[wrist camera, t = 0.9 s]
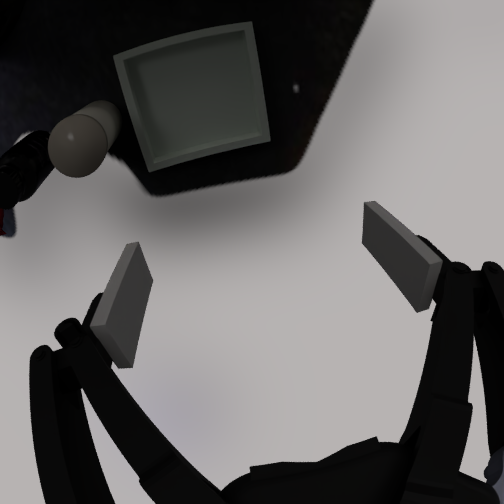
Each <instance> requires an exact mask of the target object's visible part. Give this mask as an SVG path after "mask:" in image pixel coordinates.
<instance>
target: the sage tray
mask: <svg viewBox="0 0 504 504" xmlns="http://www.w3.org/2000/svg"><path fill="white" fill-rule="evenodd" d="M113 58H114V62H115V66H116V69H117V73H118V77H119V80H120V84H121V87H122V91H123V94H124V98H125V101H126V104H127V108H128V111H129V114H130V117H131V121H132V124H133V127H134V130H135V133H136V136H137V139H138V142H139V145H140V148H141V151H142V154H143V157H144V160H145V163H146V165H147V168H148V171H149V172H152V171H155V170H159V169H162V168H165V167H168V166H172V165H175V164H179V163H182V162H186V161H189V160H193V159H197V158H200V157H204V156H208V155H212V154H216V153H220V152H224V151H228V150H232V149H236V148H241V147H245V146H250V145H255V144H259V143H264V142H269V141H271V139H270V132H269V125H268V118H267V111H266V104H265V98H264V91H263V85H262V78H261V72H260V66H259V60H258V54H257V48H256V42H255V36H254V31H253V25H252V21H251V22H243V23H236V24H229V25H223V26H217V27H212V28H207V29H202V30H197V31H193V32H188V33H184V34H180V35H176V36H172V37H169V38H165V39H161V40H158V41H155V42H151V43H148V44H145V45H142V46H139V47H136V48H133V49H130V50H128V51H125V52H122V53H119V54H117V55H114V56H113Z"/></svg>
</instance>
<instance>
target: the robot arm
mask: <svg viewBox="0 0 504 504" xmlns="http://www.w3.org/2000/svg"><path fill="white" fill-rule="evenodd" d="M24 1H25V0H0V46H1V45H2V43H3V42H4V41H5V40H6V38H7V37H8V36H9V34H10V33H11V31H12V29H13V28H14V26H15V24H16V22H17V20H18V18H19V16H20V13H21V11H22V8H23V5H24ZM363 218H364V219H363V236H362V244H363V245H364V246H365V247H366V248H367V250H368V251H369V252H370V253H371V254H372V255H373V257H374V258H375V259H376V261H377V262H378V263H379V264H380V265H381V266H382V268H383V269H384V270H385V272H386V273H387V274H388V275H389V277H390V278H391V279H392V280H393V282H394V283H395V284H396V286H397V287H398V288H399V290H400V291H401V292H402V293H403V295H404V296H405V297H406V299H407V300H408V301H409V303H410V304H411V306H412V307H413V308H414V310H415V311H416V312H417V313H418V312H421V311H423V310H427V309H429V306H430V304H431V301H432V299H433V300H434V301H435V303H436V306H435V310H434V312H433V315H432V318H431V321H433V323H432V329H431V334H430V340H429V345H428V350H427V355H426V359H425V364H424V368H423V372H422V376H421V380H420V384H419V388H418V391H417V395H416V398H415V402H414V405H413V408H412V412H411V415H410V418H409V421H408V424H407V426H406V429H405V431H404V433H403V435H402V437H401V439H400V441H399V443H393V442H378V439H377V437H373V438H370V439H367V440H365V441H362V442H359V443H355V444H352V445H349V446H346V447H345V448H343V449H341V450H339V451H338V452H336V453H334V454H332V455H330V456H328V457H326V458H324V459H322V460H320V461H318V462H278V463H272V464H265V465H259V466H251V467H250V473H248V474H245V475H243V476H241V477H239V478H237V479H235V480H234V481H232V482H231V483H229V484H228V485H227V486H226V487H225V488H224V489H223V490H222V491H220V490H219V489H218V488H217V487H216V486H215V485H213V484H212V483H211V482H210V481H208V480H207V479H206V478H205V477H204V476H203V475H202V474H201V473H200V472H199V471H197V470H196V469H195V468H194V467H193V466H192V465H191V464H190V463H189V462H188V461H187V460H186V459H185V458H184V457H183V456H182V455H181V453H180V452H179V451H178V450H177V449H176V448H175V447H174V446H173V445H172V444H171V443H170V442H169V441H168V440H167V438H166V437H165V436H164V435H163V434H162V433H161V432H160V431H159V429H158V428H157V427H156V426H155V425H154V424H153V422H152V421H151V420H150V419H149V418H148V416H147V415H146V414H145V413H144V412H143V410H142V409H141V408H140V407H139V405H138V404H137V403H136V401H135V400H134V399H133V397H132V396H131V395H130V393H129V392H128V391H127V389H126V388H125V387H124V385H123V384H122V383H121V381H120V380H119V378H118V377H117V375H116V374H115V373H114V371H113V370H112V369H111V365H112V361H113V362H114V363H115V365H116V366H117V367H118V368H133V364H134V359H135V354H136V350H137V345H138V340H139V336H140V331H141V327H142V322H143V318H144V314H145V310H146V306H147V302H148V298H149V294H150V291H151V287H152V283H153V279H152V277H151V274H150V271H149V269H148V266H147V263H146V261H145V258H144V255H143V253H142V250H141V247H140V244H139V242H135V243H130V244H127V245H126V247H125V249H124V251H123V253H122V255H121V257H120V259H119V261H118V263H117V265H116V267H115V269H114V271H113V273H112V276H111V278H110V280H109V282H108V284H107V287H106V289H105V291H104V292H103V293H99V294H98V295H97V296H96V297H95V298H94V300H92V303H91V305H90V307H89V308H90V309H88V312H87V315H86V316H85V318H84V321H83V323H82V325H81V324H80V322H79V321H78V320H77V319H76V318H68V319H66V320H64V321H62V322H61V323H60V324H59V325H58V326H57V327H56V329H55V332H54V336H55V338H56V339H57V341H58V342H59V343H60V345H61V346H62V347H63V348H62V349H59V350H56V351H52V349H51V348H50V347H49V346H48V345H42V346H39V347H38V348H36V349H35V350H34V351H33V353H32V355H31V357H30V371H29V372H30V373H29V385H30V386H29V387H30V412H31V424H32V434H33V442H34V450H35V457H36V463H37V468H38V473H39V478H40V483H41V487H42V491H43V496H44V499H45V503H46V504H115V502H114V499H113V497H112V495H111V492H110V490H109V487H108V484H107V482H106V479H105V476H104V473H103V471H102V468H101V465H100V462H99V459H98V456H97V452H96V449H95V446H94V443H93V439H92V436H91V432H90V428H89V424H88V420H87V416H86V412H85V407H84V403H83V399H82V393H81V389H82V388H83V390H84V392H85V394H86V396H87V398H88V400H89V401H90V403H91V405H92V407H93V409H94V411H95V412H96V414H97V416H98V417H99V419H100V420H101V422H102V424H103V426H104V427H105V429H106V430H107V432H108V434H109V435H110V437H111V438H112V440H113V441H114V443H115V444H116V446H117V447H118V449H119V450H120V451H121V453H122V455H123V456H124V457H125V459H126V460H127V462H128V463H129V464H130V466H131V467H132V468H133V470H134V471H135V472H136V474H137V475H138V476H139V478H140V479H139V483H140V485H141V486H142V488H143V489H144V490H145V492H146V493H147V494H148V495H149V497H150V498H151V499H152V500H153V501H154V502H155V504H504V270H503V269H502V267H501V266H500V265H498V264H497V263H495V262H491V261H488V262H484V263H483V266H482V269H481V270H478V271H471V269H470V268H469V267H468V266H467V265H466V264H464V263H461V262H451V261H450V260H449V259H448V258H447V257H446V256H445V255H444V254H442V252H441V251H440V250H437V248H436V247H435V246H434V245H432V243H431V242H430V241H428V240H427V239H426V238H424V237H422V236H420V235H415V234H414V233H412V232H411V231H410V230H409V229H408V228H407V227H406V226H404V225H403V224H402V223H401V222H400V221H399V220H397V219H396V218H395V217H394V216H392V214H390V213H389V212H388V211H387V210H385V209H384V208H383V207H382V206H381V205H379V204H378V203H377V202H375V201H371V202H364V217H363ZM474 337H475V341H476V346H477V351H478V356H479V361H480V367H481V373H482V380H483V387H484V395H485V405H486V415H487V416H486V417H487V434H488V445H489V451H490V457H491V458H490V460H489V462H488V466H487V467H486V468H485V470H484V477H485V478H486V479H487V481H486V483H485V482H483V481H480V480H478V479H475V478H473V477H471V476H469V475H466V474H464V473H462V472H460V471H459V469H460V465H461V462H462V458H463V454H464V450H465V446H466V442H467V437H468V433H469V428H470V423H471V417H472V409H473V406H472V403H468V395H469V388H470V387H469V386H470V379H471V370H472V358H473V341H474Z"/></svg>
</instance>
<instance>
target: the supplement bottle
mask: <svg viewBox="0 0 504 504" xmlns="http://www.w3.org/2000/svg"><path fill="white" fill-rule="evenodd" d="M49 137H50V133H48V132H46V131H42V130H38V131H34V132H32V133H30V134H28V135H27V136H26V137H24V138H23V139H22V140H20V141H19V142H18V143H16V144H15V145H14V146H13V147H11V148H10V149H9V150H8V151H7V152H5V153H4V154H3V155H2V156H1V158H0V208H1V209H5V210H6V209H8V210H9V209H11V208H12V207H14V206H15V205H16V204H17V203H18V202H21V201H25V200H27V199H28V198H30V197H31V196H32V195H33V194H34V193H35V192H36V190H37V189H38V188H39V186H40V185H41V184H42V182H43V181H44V180H45V179H46V177H47V176H48V175H49V174H50V173H51V171H52V170H53V169H54V168H55V166H54V165H53V164H52V162H51V160H50V157H49V153H48V141H49Z"/></svg>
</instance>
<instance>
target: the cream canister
mask: <svg viewBox="0 0 504 504" xmlns="http://www.w3.org/2000/svg"><path fill="white" fill-rule="evenodd" d="M122 124H123V120H122V115H121V113H120V111H119V109H118V108H117V107H116V106H115V105H114V104H112V103H111V102H108V101H103V100H100V101H95V102H92V103H90V104H88V105H87V106H85V107H84V108H82V109H80V110H79V111H77V112H76V113H74V114H73V115H71V116H69V117H67V118H65V119H63V120H62V121H61V122H59V123H58V124H57V125H56V126H55V128H54V129H53V130H52V132H51V134H50V137H49V141H48V153H49V157H50V160H51V162H52V164H53V165H54V166H55V167H56V169H57V170H59V171H60V172H61V173H62V174H64V175H66V176H69V177H75V178H77V177H78V178H79V177H85V176H87V175H90V174H91V173H93V172H94V171H95V170H96V169H97V168H98V167H99V166H100V165H101V163H102V162H103V160H104V158H105V156H106V153H107V152H108V150H109V149H110V147H111V146H112V144H113V143H114V141H115V140H116V139H117V137H118V136H119V134H120V132H121V129H122Z"/></svg>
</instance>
